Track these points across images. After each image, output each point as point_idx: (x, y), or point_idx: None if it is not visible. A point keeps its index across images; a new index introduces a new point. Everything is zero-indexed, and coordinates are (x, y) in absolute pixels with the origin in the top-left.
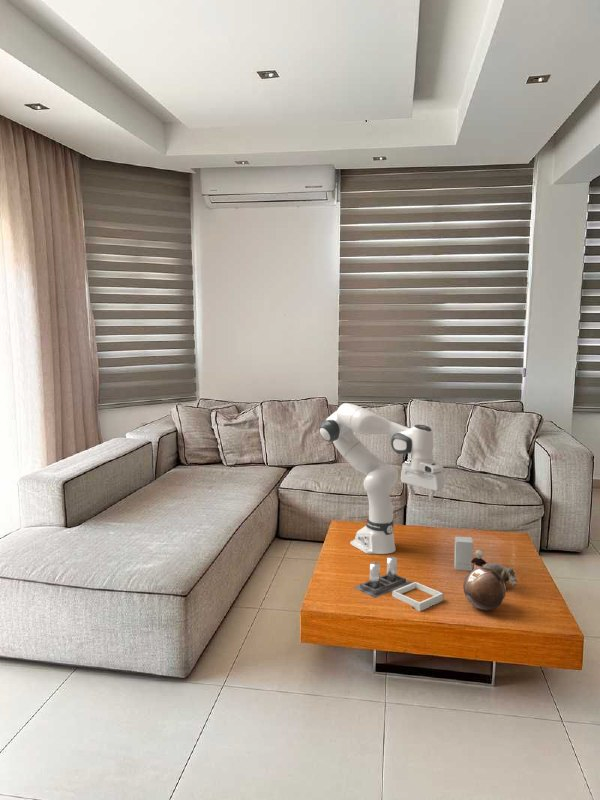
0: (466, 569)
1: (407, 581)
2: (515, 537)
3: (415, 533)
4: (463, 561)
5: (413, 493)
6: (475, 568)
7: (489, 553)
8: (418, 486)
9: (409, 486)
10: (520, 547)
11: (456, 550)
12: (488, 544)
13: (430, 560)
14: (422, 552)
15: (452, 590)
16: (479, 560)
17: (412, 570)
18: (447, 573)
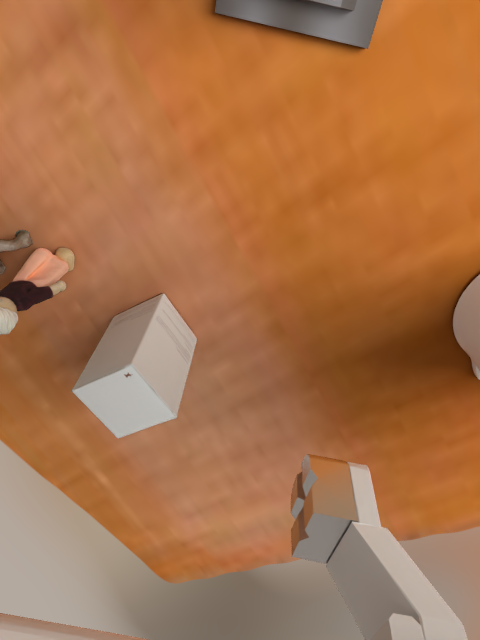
0: (128, 310)
1: (243, 3)
2: (164, 562)
3: (434, 487)
4: (128, 322)
5: (306, 493)
6: (42, 277)
7: (156, 457)
8: (70, 630)
9: (407, 620)
10: (117, 520)
11: (141, 339)
12: (194, 505)
13: (283, 318)
14: (344, 366)
15: (49, 90)
16: (3, 294)
17: (299, 182)
18: (167, 244)
